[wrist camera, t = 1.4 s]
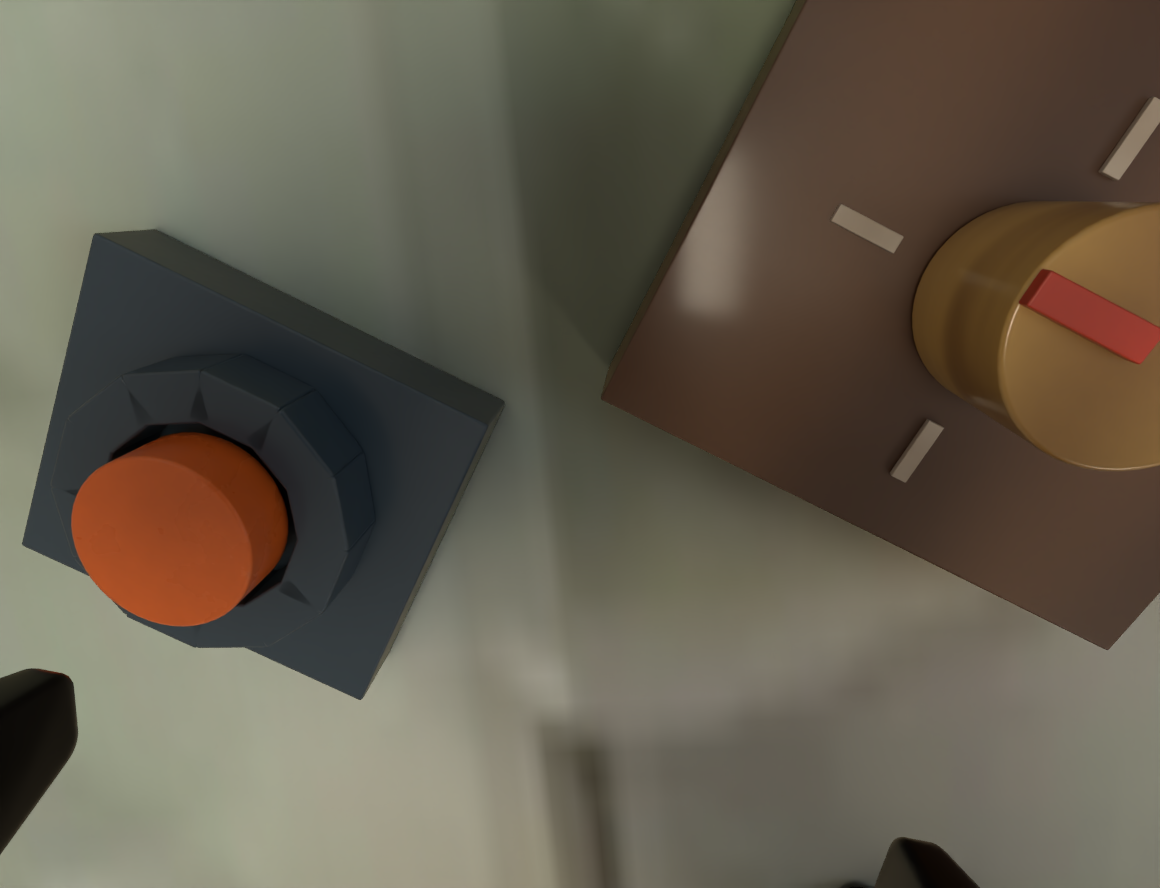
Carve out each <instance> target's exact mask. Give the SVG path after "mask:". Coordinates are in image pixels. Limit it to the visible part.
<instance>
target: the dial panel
mask: <svg viewBox="0 0 1160 888" xmlns="http://www.w3.org/2000/svg"><path fill="white" fill-rule="evenodd" d="M1028 201H1090V202H1160V0H796V2H795V4H794V6H793V8H792V10H791V12H790V14H789V16H788V18H787V20H786V22H785V24H784V26H783V28H782V30H781V32H780V34H779V36H778V38H777V39H776V41H775V43H774V45H773V47H772V49H771V51H770V53H769V55H768V57H767V59H766V61H765V63H764V65H763V67H762V69H761V71H760V73H759V75H758V77H757V79H756V81H755V83H754V84H753V86H752V88H751V90H750V92H749V94H748V96H747V98H746V100H745V102H744V104H743V106H742V108H741V110H740V112H739V114H738V116H737V118H736V120H735V122H734V124H733V126H732V128H731V129H730V131H729V133H728V135H727V137H726V139H725V141H724V143H723V145H722V147H721V149H720V151H719V153H718V155H717V157H716V159H715V161H714V163H713V165H712V167H711V169H710V171H709V173H708V174H707V176H706V178H705V180H704V182H703V184H702V186H701V188H700V190H699V192H698V194H697V196H696V198H695V200H694V202H693V204H692V206H691V208H690V210H689V212H688V214H687V216H686V218H685V219H684V221H683V223H682V225H681V227H680V229H679V231H678V233H677V235H676V237H675V239H674V241H673V243H672V245H671V247H670V249H669V251H668V253H667V255H666V257H665V259H664V261H663V263H662V264H661V266H660V268H659V270H658V272H657V274H656V276H655V278H654V280H653V282H652V284H651V286H650V288H649V290H648V292H647V294H646V296H645V298H644V300H643V302H642V304H641V306H640V308H639V309H638V311H637V313H636V315H635V317H634V319H633V321H632V323H631V325H630V327H629V329H628V331H627V333H626V335H625V337H624V339H623V341H622V343H621V345H620V347H619V349H618V351H617V352H616V354H615V356H614V358H613V360H612V362H611V364H610V366H609V369H608V373H607V376H606V380H605V384H604V388H603V392H602V396H601V399H602V400H603V401H605V402H607V403H609V404H611V405H613V406H616V407H618V408H620V409H622V410H624V411H626V412H628V413H630V414H632V415H634V416H636V417H638V418H640V419H642V420H644V421H646V422H648V423H650V424H652V425H654V426H656V427H658V428H660V429H662V430H664V431H666V432H668V433H670V434H672V435H674V436H676V437H678V438H680V439H682V440H684V441H686V442H688V443H690V444H692V445H694V446H696V447H698V448H700V449H702V450H704V451H706V452H708V453H710V454H712V455H714V456H716V457H718V458H720V459H722V460H724V461H726V462H728V463H730V464H732V465H734V466H736V467H739V468H741V469H743V470H745V471H747V472H749V473H751V474H753V475H755V476H757V477H759V478H761V479H763V480H765V481H767V482H769V483H771V484H773V485H775V486H777V487H779V488H781V489H783V490H785V491H787V492H789V493H791V494H793V495H795V496H797V497H799V498H801V499H803V500H805V501H807V502H809V503H811V504H813V505H815V506H817V507H819V508H821V509H823V510H825V511H827V512H829V513H831V514H833V515H835V516H837V517H839V518H841V519H843V520H845V521H847V522H849V523H851V524H853V525H855V526H857V527H859V528H861V529H864V530H866V531H868V532H870V533H872V534H874V535H876V536H878V537H880V538H882V539H884V540H886V541H888V542H890V543H892V544H894V545H896V546H898V547H900V548H902V549H904V550H906V551H908V552H910V553H912V554H914V555H916V556H918V557H920V558H922V559H924V560H926V561H928V562H930V563H932V564H934V565H936V566H938V567H940V568H942V569H944V570H946V571H948V572H950V573H952V574H954V575H956V576H958V577H960V578H962V579H964V580H966V581H968V582H970V583H972V584H974V585H976V586H978V587H980V588H982V589H984V590H987V591H989V592H991V593H993V594H995V595H997V596H999V597H1001V598H1003V599H1005V600H1007V601H1009V602H1011V603H1013V604H1015V605H1017V606H1019V607H1021V608H1023V609H1025V610H1027V611H1029V612H1031V613H1033V614H1035V615H1037V616H1039V617H1041V618H1043V619H1045V620H1047V621H1049V622H1051V623H1053V624H1055V625H1057V626H1059V627H1061V628H1063V629H1065V630H1067V631H1069V632H1071V633H1073V634H1075V635H1077V636H1079V637H1081V638H1083V639H1085V640H1087V641H1089V642H1091V643H1093V644H1095V645H1097V646H1099V647H1101V648H1103V649H1106V650H1108V649H1109V648H1110V647H1111V646H1112V645H1113V644H1114V643H1115V642H1116V641H1117V640H1118V638H1119V637H1120V636H1121V635H1122V634H1123V633H1124V632H1125V631H1126V630H1127V628H1128V627H1129V626H1130V625H1131V624H1132V623H1133V622H1134V621H1135V620H1136V618H1137V617H1138V616H1139V615H1140V614H1141V613H1142V612H1143V611H1144V609H1145V608H1146V607H1147V606H1148V605H1149V604H1150V603H1151V602H1152V601H1153V599H1154V598H1155V597H1156V596H1157V595H1158V594H1159V593H1160V465H1159V466H1154V467H1149V468H1144V469H1139V470H1128V471H1098V470H1091V469H1084V468H1080V467H1077V466H1073V465H1069V464H1066V463H1064V462H1062V461H1059V460H1057V459H1055V458H1052V457H1051V456H1049V455H1047V454H1046V453H1044V452H1042V451H1041V450H1039V449H1037V448H1036V447H1034V446H1033V445H1031V444H1030V443H1028V442H1027V441H1025V440H1024V439H1022V438H1021V437H1019V436H1018V435H1016V434H1015V433H1013V432H1011V431H1010V430H1008V429H1007V428H1005V427H1004V426H1002V425H1001V424H999V423H998V422H996V421H995V420H993V419H992V418H990V417H989V416H987V415H986V414H984V413H982V412H981V411H979V410H978V409H976V408H975V407H973V406H972V405H970V404H969V403H967V402H966V401H964V400H963V399H961V398H960V397H958V396H957V395H955V394H953V393H952V392H950V391H949V390H947V389H946V388H945V387H944V386H942V385H941V384H940V383H939V382H938V381H937V380H936V379H935V378H934V377H933V376H932V375H931V374H930V373H929V371H928V370H927V368H926V367H925V365H924V364H923V362H922V360H921V358H920V356H919V353H918V351H917V348H916V345H915V341H914V336H913V329H912V312H913V305H914V299H915V295H916V292H917V288H918V285H919V283H920V281H921V278H922V276H923V274H924V272H925V270H926V268H927V266H928V265H929V263H930V261H931V260H932V258H933V257H934V256H935V254H936V253H937V252H938V250H939V249H940V248H941V247H942V246H943V245H944V244H945V242H946V241H947V240H948V239H949V238H950V237H951V236H953V235H954V234H955V233H956V232H957V231H958V230H960V229H961V228H962V227H964V226H965V225H966V224H968V223H969V222H971V221H972V220H974V219H976V218H978V217H980V216H981V215H983V214H985V213H987V212H990V211H992V210H995V209H997V208H1000V207H1003V206H1007V205H1010V204H1014V203H1020V202H1028Z"/></svg>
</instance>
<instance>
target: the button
mask: <svg viewBox="0 0 1160 888" xmlns="http://www.w3.org/2000/svg"><path fill="white" fill-rule="evenodd" d="M71 528H72V537H73V541H74V545H75V548H76V551H77V553H78V556H79V559H80V561H81V562H82V564H83V566H84V568H85V570H86V571H87V573H88V574H89V576H90V577H91V579H92V580H93V581H94V582H95V584H96V585H97V586H98V587H99V588H100V589H101V590H102V591H103V592H104V593H105V594H106V595H107V596H108V597H109V598H110V599H112V600H113V601H114V602H115V603H117V604H118V605H119V606H121V607H122V608H124V609H126V610H127V611H129V612H131V613H133V614H135V615H136V616H138V617H141V618H143V619H146V620H148V621H151V622H155V623H159V624H163V625H169V626H182V627H184V626H195V625H200V624H205V623H208V622H211V621H214V620H216V619H218V618H220V617H222V616H224V615H225V614H227V613H228V612H229V611H231V610H232V609H233V608H234V607H235V606H236V605H237V604H238V603H239V602H240V601H241V600H242V599H243V598H244V597H245V596H246V595H247V594H249V593H250V592H251V591H252V590H253V589H254V588H255V587H256V586H257V585H258V584H259V583H260V582H261V581H262V580H263V579H264V578H265V577H266V576H267V575H268V574H269V573H270V572H271V571H272V570H273V569H274V568H275V566H276V565H277V563H278V562H279V561H280V559H281V557H282V555H283V553H284V550H285V547H286V543H287V538H288V515H287V509H286V506H285V502H284V499H283V497H282V494H281V492H280V490H279V488H278V486H277V485H276V483H275V481H274V479H273V478H272V477H271V475H270V474H269V473H268V471H267V470H266V469H265V468H264V467H263V466H262V465H261V464H260V462H258V461H257V460H256V459H255V458H254V457H253V456H252V455H250V454H249V453H248V452H246V451H245V450H243V449H242V448H241V447H239V446H237V445H235V444H233V443H231V442H229V441H227V440H224V439H222V438H220V437H216V436H212V435H209V434H203V433H196V432H181V433H173V434H169V435H165V436H162V437H160V438H158V439H155V440H153V441H151V442H149V443H147V444H145V445H143V446H141V447H139V448H137V449H135V450H133V451H131V452H129V453H127V454H125V455H123V456H120V457H118V458H116V459H114V460H112V461H110V462H108V463H106V464H104V465H103V466H101V467H100V468H98V469H96V470H95V471H94V472H93V473H92V474H91V475H90V476H89V477H88V478H87V479H86V481H85V482H84V483H83V484H82V486H81V488H80V490H79V492H78V493H77V495H76V498H75V501H74V504H73V509H72V515H71Z"/></svg>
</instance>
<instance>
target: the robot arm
mask: <svg viewBox="0 0 1160 888" xmlns="http://www.w3.org/2000/svg"><path fill="white" fill-rule="evenodd" d="M77 738H78V726H77V715H76V704H75V694H74V685H73V682H72V680H71V679H70V678H69V676H67V675H65V674H63V673H58V672H52V671H47V670H42V669H32V668H31V669H25V670H22V671H19V672H16V673H14V674H11V675H8V676H5V677H2V678H0V854H1V853H2V852H3V850H4V849H5V847H6V846H7V845H8V843H9V842H10V840H11V839H12V838H13V836H14V835H15V834H16V832H17V831H18V829H19V828H20V827H21V825H22V824H23V822H24V821H25V820H26V818H27V817H28V815H29V814H30V813H31V811H32V810H33V809H34V807H35V806H36V804H37V803H38V802H39V800H40V799H41V797H42V796H43V795H44V793H45V792H46V790H47V789H48V788H49V786H50V785H51V784H52V782H53V781H54V779H55V778H56V777H57V775H58V774H59V772H60V771H61V770H62V768H63V767H64V765H65V764H66V763H67V761H68V760H69V758H70V757H71V755H72V753H73V751H74V749H75V746H76V743H77ZM851 888H863V887H851ZM874 888H980V887H979V886H978V885H977V884H976V883H975V882H974V881H973V880H972V879H971V878H970V877H969V876H968V875H967V874H966V873H965V872H964V871H963V870H962V868H961V867H960V866H959V865H958V864H957V863H956V862H955V861H954V860H953V859H952V858H951V857H950V856H949V855H948V854H947V853H946V852H945V851H944V850H943V849H942V848H941V847H939V846H938V845H936V844H934V843H931V842H927V841H921V840H916V839H911V838H906V837H899V838H896V839H895V840H894V841H893V842H892V844H891V845H890V847H889V850H888V852H887V855H886V858H885V860H884V863H883V866H882V868H881V871H880V873H879V876H878V879H877V881H876V884H875V886H874Z"/></svg>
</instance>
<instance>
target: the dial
mask: <svg viewBox="0 0 1160 888" xmlns="http://www.w3.org/2000/svg"><path fill="white" fill-rule="evenodd" d="M912 329H913V336H914V341H915V345H916V348H917V351H918V353H919V356H920V358H921V360H922V362H923V364H924V365H925V367H926V368H927V370H928V371H929V373H930V374H931V375H932V376H933V377H934V378H935V379H936V380H937V381H938V382H939V383H940V384H941V385H942V386H944V387H945V388H946V389H947V390H949V391H950V392H952V393H953V394H955V395H957V396H958V397H960V398H961V399H963V400H964V401H966V402H967V403H969V404H970V405H972V406H973V407H975V408H976V409H978V410H979V411H981V412H982V413H984V414H986V415H987V416H989V417H990V418H992V419H993V420H995V421H996V422H998V423H999V424H1001V425H1002V426H1004V427H1005V428H1007V429H1008V430H1010V431H1011V432H1013V433H1015V434H1016V435H1018V436H1019V437H1021V438H1022V439H1024V440H1025V441H1027V442H1028V443H1030V444H1031V445H1033V446H1034V447H1036V448H1037V449H1039V450H1041V451H1042V452H1044V453H1046V454H1047V455H1049V456H1051V457H1052V458H1055V459H1057V460H1059V461H1062V462H1064V463H1066V464H1069V465H1073V466H1077V467H1080V468H1084V469H1091V470H1098V471H1128V470H1139V469H1144V468H1149V467H1154V466H1159V465H1160V202H1090V201H1028V202H1020V203H1014V204H1010V205H1007V206H1003V207H1000V208H997V209H995V210H992V211H990V212H987V213H985V214H983V215H981V216H980V217H978V218H976V219H974V220H972V221H971V222H969V223H968V224H966V225H965V226H964V227H962V228H961V229H960V230H958V231H957V232H956V233H955V234H954V235H953V236H951V237H950V238H949V239H948V240H947V241H946V242H945V244H944V245H943V246H942V247H941V248H940V249H939V250H938V252H937V253H936V254H935V256H934V257H933V258H932V260H931V261H930V263H929V265H928V266H927V268H926V270H925V272H924V274H923V276H922V278H921V281H920V283H919V285H918V288H917V292H916V295H915V299H914V305H913V312H912Z"/></svg>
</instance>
